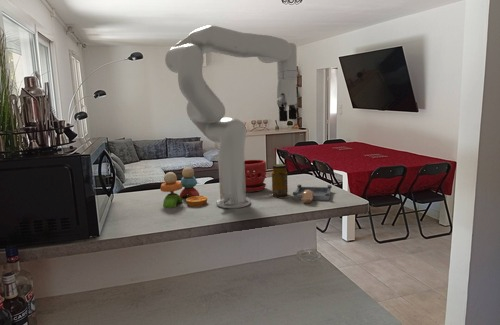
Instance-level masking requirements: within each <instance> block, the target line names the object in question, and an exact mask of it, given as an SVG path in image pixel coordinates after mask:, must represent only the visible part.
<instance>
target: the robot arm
mask: <svg viewBox="0 0 500 325" xmlns="http://www.w3.org/2000/svg"><path fill="white" fill-rule="evenodd" d="M209 53H216V54H220V55H225V56H230V57H234V58H241V59H242V58H244V59H245V58H257V59H258V61H259V62H261V63H264V64H273V63H276V64H277V66H276V68H277V86H276V105H277V107H278V115H279V117H278V119H279V120H278V121H279V122H288V120H297V119H298V118H297V109H298V108H297V107H298V106H297V105H298V104H297V102H298V95H297V94H298V93H297V83H296V82H297V80H298V69H297V68H298V65H297V63H298V62H297V61H298V60H297V59H298V56H297V45H296V43H294V42H288V40H286V39H284V38H281V37H276V36H272V35H268V34H258V33H249V32H242V31H237V30H234V29H233V30H232V29H230V28H225V27H221V26H218V25H211V24H210V25H206V26H202V27H199V28H197V29H195V30H193V31H192V32H190V33H189V34H188V35H186V36H185V37H184V38H183V39H181V40H180V41H178V42H177V43H176V44H175V45H173V46H172V47H171V48H170V49H169V50H168V51H167V52H166V54H165V59H164V60H165V61H164V62H165V65H166V67H167V69H168V70H169V71H170V72H173V73H174V74H175V73H176V74H177V81H178V82H177V83H178V87H179V90H180V92H181V94H182V96H183V97H184V98H185V100H187V103H186V113H187V116H188V118H189V120H190V121H191V122H192V123H193V124H194V125H195V127H196V128H197V129H198V130H199V131H200V132H201V133H202V134H203V136H205V138H206V139H208V140H209V141H210V142H214V143H217V144H219V148H218V153H217V161H218V162H217V163H218V178H219V179H218V181H219V199H217V200H216V203H215V204H216V206H217V207H218V208H223V209H237V208H238V209H239V208H240V209H241V208H244V207H247V206H249V205H250V204H251V199H250V198H249V197H247V191H246V183H245V161H244V160H245V145H246V138H247V130H246V127H245V124H244V123H243V121H242V120H240V119H238V118H236V117H227V116H226V117H225V115H226V108H225V105H224V104H223V102H222V101H221V99H220V98H219V97H218V96H217V94H216V93H215V92H214V91H213V90H212V89H211V87H210V86H209V84H207V82H206V80H205V78H204V76H203V67H204V66H203V65H204V59H205V58H204V54H209ZM288 108H289V109H288ZM287 109H288V110H287Z"/></svg>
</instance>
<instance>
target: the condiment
mask: <svg viewBox="0 0 500 325" xmlns="http://www.w3.org/2000/svg"><path fill="white" fill-rule="evenodd" d="M271 186H272V188H271V189H272V190H271V191H272V192H271V193H268V194H267V195H268V196H270V197H275V198H278V199H279V198H280V199H286V198H291V197H294V195H293V193H289V190H288V171H287V165H286V164H283V163H281V164H280V163H276V164H273V165H272V173H271ZM272 194H273V195H272Z"/></svg>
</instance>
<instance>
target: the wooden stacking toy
mask: <svg viewBox="0 0 500 325" xmlns="http://www.w3.org/2000/svg"><path fill="white" fill-rule="evenodd" d="M181 174H182V177H181V180H180V181H178V178H177V175H176V173H174V172H173V171H169V172H167V173H165V175H164V176H163V180H164V182H162V183H161V185H160V191H161V192H165V193H168V192H169V193H168V194H167V195H166V196H165V198H164V199H163V202H162V206H163V208H176V207H177V203H178V204H179V203H183V198H184V197H187V198H186V199H185V200H186V204H187V206H189V207H194V208H195V207H202V206H205V205H206V204H207V203H208V197H207V196H205V195H200V193H199V191H198V190H197V188H195V186H197V185H198V181H197V179H196V177H195V176H194V174H195V170H194V168H192V167H190V166H187V167H186V166H185V167H184V168H183V169H182V172H181ZM180 190H181V191H180ZM177 191H180V193H179V194H178V193H175V192H177Z"/></svg>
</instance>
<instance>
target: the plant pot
mask: <svg viewBox="0 0 500 325" xmlns="http://www.w3.org/2000/svg"><path fill="white" fill-rule="evenodd" d="M244 161H245V183H246V193H247V192H250V193H251V192H258V191H262V190H264V189H265V188H266V186H267V185H266V183H264V182H265V180H266V175H267V163H266V160H264V159H244Z"/></svg>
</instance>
